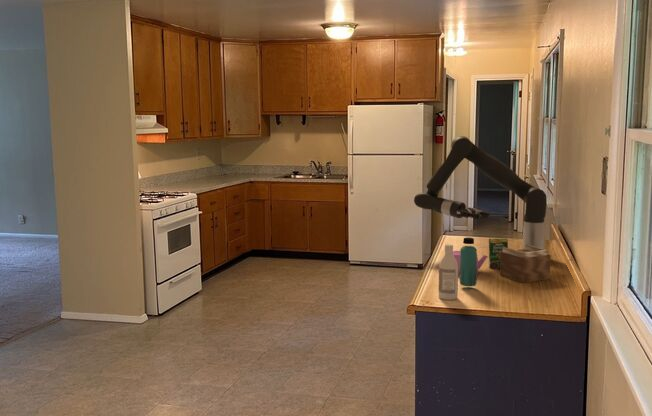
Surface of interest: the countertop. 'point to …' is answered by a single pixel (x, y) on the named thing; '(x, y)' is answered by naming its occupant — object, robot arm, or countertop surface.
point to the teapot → (480, 262)
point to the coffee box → (496, 251)
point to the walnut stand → (525, 264)
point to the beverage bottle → (468, 263)
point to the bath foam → (448, 275)
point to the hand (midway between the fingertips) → (484, 216)
